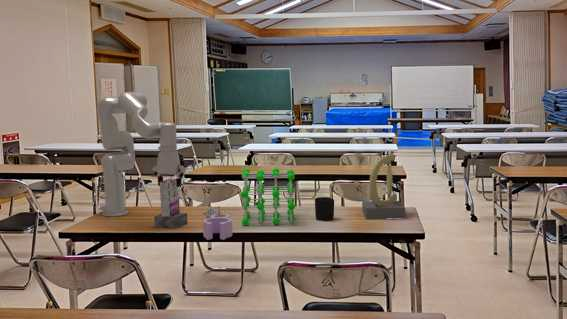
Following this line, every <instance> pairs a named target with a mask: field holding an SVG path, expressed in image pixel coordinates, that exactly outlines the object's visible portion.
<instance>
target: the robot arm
mask: <svg viewBox="0 0 567 319" xmlns="http://www.w3.org/2000/svg"><path fill="white" fill-rule="evenodd" d="M147 105H148V98H147V97H146V95H145V93H143V92H141V91H126V92H125V91H124V92H122V93H120V94H118V96H107V97H103V98H101V99H99V100H98V102H97V103H96V113H97V117H98V121H99V124H100V125H99V126H100V135H101V143H102V147H103V148H104V150H106V151H116V150H117V151H118V150H120V151H118V152H109V153H106V154H104V155H103V156H102V157H101V159H100V165H101V169H102V173H103V181H104V182H103V184H104V202H105V204H104V205H101V206H100V207H99V210H101V211H103V212H102V216H103V217H123V216H126V215H128V214H129V210H127V209H125V208H126V207H125V205H126V204H125V203H126V201H125V184H124V178H123V176H122V174H121V172H120V171H128V170H129V171H130V170H132V169H133V168H134V167H135V164H136V154H135V143H134V138H133V136H132V134H131V132H129V131H128V130H119V125H118V120H117V119H116V118H115V116H114V114H115V115H117V114H128V115H129V117H131V124H132V127H133V129H134V131H135V132H136V133H137V134H138V135H139V136H140V137H141V138H144V139H159V146H158V148H157V149H158V150H159V152H158V155H157V162H156V164H157V165H155V166H153V167H152V171H153V173H154V175H155V176H156V178H157V186H158V187H160V182H162V181H164V175H170V176H171V175H174V176H175V177H176V178H177V179H176V186H177V187H179V188H180V187H182V184H183V183H182V182H183V181H182V178H183V177H184V176H185V174H186V171H187V168H185V167H184V166H182V165H181V160H180V155H179V152H178V148H177V147H178V144H177V125H176V123H175V122H165V121H150V122H148V121H147V122H146V121H145V120H144V119H145V118H146V117H147V115H148V112H149V111H148V107H147Z"/></svg>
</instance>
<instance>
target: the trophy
mask: <svg viewBox="0 0 567 319" xmlns="http://www.w3.org/2000/svg"><path fill="white" fill-rule="evenodd" d="M396 157H397V154H393V153H392V154H387V155H383V156H382V157H380V158H379V159H378V160H377V161H376V162H375V163H374V165H373V167H372V169H371V172H370V175H369V184H368V186H369V194H370V199H371V200H362V201H361V202H362V203H361V204H362V205H361V206H362V208H361V210H362V213H363V217H364V218H365V220H388V219H387V218H405V219H406V206H404V205H403V204H402V202H401V201H400V200H397V199H398V196H397V193H393V191H392V190H393V168H392V165H391V162H392V161H393V162H395V160H396ZM387 162H388V165H387V169H386V189H387V194H388V198H387V199H385V200H384V199H383V200H382V199H381V198H380V197H379V194H378V188H377V187H378V186H377V180H378V174H379V171H380V169H381V168H382V166H383V165H384V164H386V163H387ZM392 193H393V195H392ZM381 218H382V219H381Z"/></svg>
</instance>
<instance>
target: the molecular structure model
mask: <svg viewBox="0 0 567 319" xmlns="http://www.w3.org/2000/svg"><path fill="white" fill-rule="evenodd" d="M295 176H296V175H295V172H294V170H292V169H290V168H289V169H288V170H283V171H282V170H281V171H280V169H279V168H278V167H274V168H273V169H272V170H271V171H264V170H263V169H259V170H258V171H251V169H249V168H247V167H246V168H244V169H243V171H242V173H241V178H242V180H243V181H244V183H243V185H244V186H243V187H242V191H241V192H240V197H241V198H243V202H242V204H241V205H242V208H243V210H244V214H243V215H242V216H243V218H242V220H241V225H242V226H245V227H246V226H248V225H249V224H260V225H262V224H268V223H270V224H273V225H274V226H279V225H280V224H281V223H282V224H284V223H289V224H291V225H292V224H293V223H294V221H295V219H296V218H295V216H294V214H295V211H294V209H296V205H295V199H294V198H293V197H292V196H293V195H294V193H295V189H294V184H293V183H292V182H293V181H294V180H295V178H296V177H295ZM248 179H256V181H258V182H259V183H258V185H257V186H250V185H249V184H248V183H249V182H248V181H249V180H248ZM264 179H273V180H274V185H272V186H271V185H269V186H268V185H267V186H266V185H265V184H264V183H263V180H264ZM278 179H287V180H288V181H289V182H288V183H287V184H286V185H278V184H277V182H278ZM264 195H265V196H266V195H267V196H269V195H270V196H271V195H272V198H264V197H263V196H264ZM281 195H289V196H288V197H286V198H285V197H283V198H282V197H280V196H281ZM250 196H259V198H251V197H250ZM251 203H253V204H251ZM254 203H256V204H254ZM265 203H272V204H265ZM280 203H287V204H280ZM269 208H270V209H272V208H273V209H274V211H273V212H266V210H264V209H269ZM279 208H280V209H282V208H288V209H287V211H286V212H284V211H283V212H279V211H278V209H279ZM249 209H257V210H258V212H251V211H249ZM286 214H287V215H286ZM267 217H268V218H267ZM280 217H283V218H280Z"/></svg>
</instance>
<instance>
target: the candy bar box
mask: <svg viewBox="0 0 567 319" xmlns="http://www.w3.org/2000/svg"><path fill="white" fill-rule="evenodd" d="M176 179H177V177H176V178H175V177H172V178H167V179H163V181H162V182H160V186H159V192H160V193H159V194H160V195H159V196H160V209H161V210H160V211H161V212H160V214H161V216H162V217H172V216H174V215H175V214H177V213H181V212H180V211H181V210H180V191H179V188H180V187H177V186H176Z"/></svg>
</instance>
